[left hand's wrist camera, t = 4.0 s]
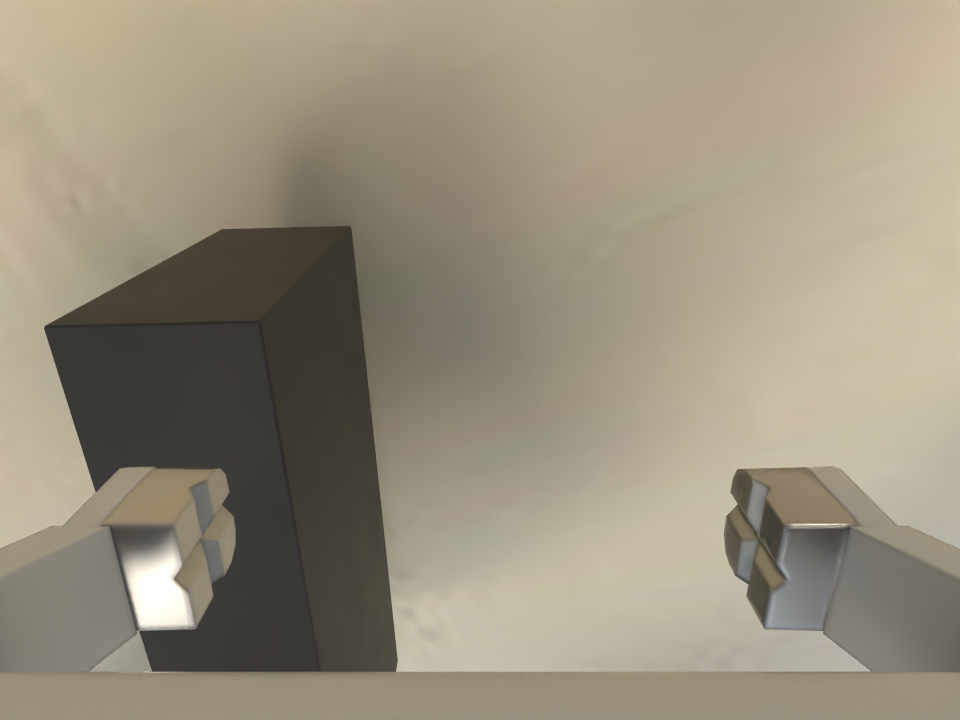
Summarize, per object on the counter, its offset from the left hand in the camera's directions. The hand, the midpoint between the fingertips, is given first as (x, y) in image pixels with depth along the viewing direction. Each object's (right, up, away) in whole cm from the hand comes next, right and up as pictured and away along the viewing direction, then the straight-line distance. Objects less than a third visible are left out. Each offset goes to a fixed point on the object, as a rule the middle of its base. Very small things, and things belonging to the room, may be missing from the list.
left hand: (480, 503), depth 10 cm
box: (-8, -4, +23) cm, 25 cm away
